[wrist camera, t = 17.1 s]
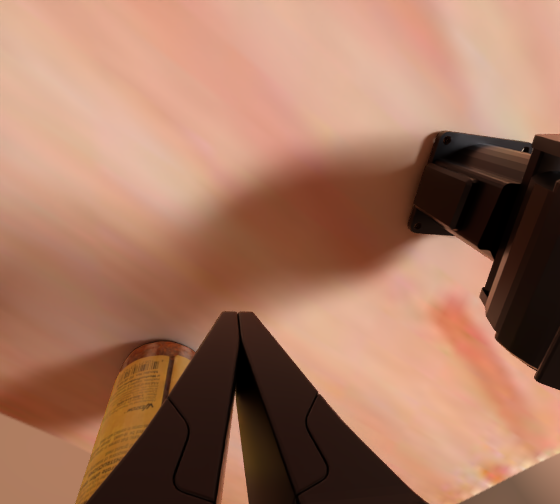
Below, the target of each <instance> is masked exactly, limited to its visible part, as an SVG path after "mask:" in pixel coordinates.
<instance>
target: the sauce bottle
mask: <svg viewBox="0 0 560 504" xmlns="http://www.w3.org/2000/svg"><path fill="white" fill-rule="evenodd" d="M195 353H196V352H194V351H193V350H191V349H190V348H188V347H186V346H183V345H181V344H178V343H176V342H171V341H159V342H154V343H148V344H145V345H142V346H141V347H138V348H137V349H135V350H134V351H133V352H131V354H130V355H129V356H128V357H127V359H126V360H125V362H124V363H123V365H122V367H121V370H120V373H119V374H118V376H117V378H116V380H115V383H114V386H113V389H112V392H111V395H110V399H109V402H108V405H107V408H106V411H105V414H104V417H103V420H102V423H101V426H100V429H99V432H98V435H97V438H96V441H95V444H94V448H93V451H92V454H91V457H90V460H89V463H88V466H87V470H86V472H85V475H84V478H83V481H82V484H81V488H80V491H79V494H78V497H77V500H76V503H75V504H85V503H86V502H87V500H88V499H89V498H90V497H91V496H92V494H93V493H94V492H95V491H96V490H97V488H98V487H99V486H100V485H101V484H102V482H103V481H104V480H105V479H106V478H107V476H108V475H109V474H110V473H111V471H112V470H113V469H114V468H115V467H116V465H117V464H118V463H119V462H120V461H121V459H122V458H123V457H124V456H125V455H126V453H127V452H128V451H129V449H130V448H131V447H132V446H133V444H134V443H135V442H136V441H137V439H138V438H139V437H140V435H141V434H142V433H143V432H144V430H145V429H146V427H147V426H148V424H149V423H150V421H151V420H152V419H153V417H154V416H155V414H156V413H157V411H158V410H159V408H160V407H161V405H162V404H163V402H164V401H165V400H166V399H167V396H168V395H169V393H170V392H171V390H172V388H173V387H174V385H175V384H176V382H177V381H178V379H179V378H180V376H181V375H182V373H183V371H184V370H185V368H186V367H187V365H188V364H189V362H190V361H191V359H192V358H193V356H194V355H195Z"/></svg>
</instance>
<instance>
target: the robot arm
mask: <svg viewBox="0 0 560 504" xmlns="http://www.w3.org/2000/svg"><path fill="white" fill-rule="evenodd" d="M446 136H447V141H446V142H445V143H443V139H444V138H445V137H446ZM523 148H524V150H523V152H521V151H522V149H523ZM532 150H533V151H532ZM531 153H532V154H531ZM416 223H418V225H417V226H416V227H414V225H415V224H416ZM408 228H409V229H410V230H411V231H412V232H414V233H422V234H436V235H450V236H456V237H457V238H459V239H460V240H462V241H463V242H465V243H466V244H468V245H469V246H471V247H472V248H474V249H475V250H477V251H478V252H480V253H481V254H483V255H484V256H486V257H487V258H489V259H490V260H492V261H493V265H492V268H491V271H490V274H489V276H488V279H487V282H486V285H485V287H483V288H482V290H481V293H480V296H479V297H480V299H481V301H482V302H483V304H484V306H485V310H486V317H487V319H488V320H489V322H490V324H491V325H492V327H493V328H494V330H495V331H496V334H495V339H496V340H497V341H498V342H499V344H501V345H502V346H503V347H504V348H505V349H506V350H507V351H509V352H510V353H511V354H512V355H513V356H515V357H516V358H518V359H519V360H520V361H522V362H523V363H525V364H526V365H528V366H529V367H530V368H532V369H534V370H536V371H537V372H536V374H535V376H534V379H535V380H536V381H538V382H539V383H541V384H544V385H547V386H550V387H552V388H555V389H558V390H560V134H537V135H535V137H534V140H533V143H532V144H531V143H529V142H523V141H516V140H509V139H502V138H495V137H488V136H480V135H473V134H466V133H459V132H452V131H442V132H440V133H439V134H438V135H437V137H436V139H435V143H434V146H433V149H432V152H431V155H430V158H429V161H428V164H427V166H426V167H425V169H424V172H423V175H422V178H421V182H420V185H419V188H418V191H417V194H416V197H415V200H414V207H413V210H412V213H411V216H410V219H409V222H408ZM235 395H236V405H237V413H238V421H239V429H240V437H241V445H242V452H243V460H244V468H245V476H246V484H247V492H248V500H249V504H429V503H428V502H426V501H425V500H423V499H422V498H421V497H420V496H418V495H417V494H416V493H415V492H414V491H413V490H412V489H410V488H409V487H408V486H407V485H406V484H405V483H404V482H403V481H402V480H401V479H400V478H399V477H398V476H397V475H396V474H395V473H394V472H393V471H392V470H391V469H390V468H389V467H388V466H387V465H386V464H385V463H384V462H383V461H382V460H381V459H380V458H379V457H378V456H377V455H376V454H375V453H374V452H373V451H372V450H371V449H370V448H369V447H368V446H367V445H366V444H365V443H364V442H363V441H362V440H361V439H360V438H359V437H358V436H357V435H356V434H355V433H354V432H353V431H352V430H351V429H350V428H349V427H348V426H347V425H346V424H345V423H344V422H343V420H342V419H341V418H340V417H339V416H338V415H337V413H336V412H335V411H334V410H333V409H332V408H331V407H330V405H329V404H328V403H327V402H326V401H325V399H324V398H323V397H322V396H321V395H320V394H318V391H317V390H316V389H315V387H314V386H313V385H312V384H311V382H310V381H309V380H308V379H307V378H306V376H305V375H304V374H303V373H302V371H301V370H300V369H299V368H298V367H297V365H296V364H295V363H294V362H293V360H292V359H291V358H290V357H289V356H288V354H287V353H286V352H285V351H284V349H283V348H282V347H281V346H280V345H279V343H278V342H277V341H276V340H275V338H274V337H273V336H272V335H271V334H270V332H269V331H268V330H267V329H266V327H265V326H264V325H263V324H262V323H261V321H260V320H259V319H258V318H257V316H256V315H255V314H254V313H253V312H239V313H238V314H237V312H235V311H223V312H222V313H221V314H220V316H219V317H218V319H217V321H216V322H215V324H214V325H213V327H212V328H211V330H210V331H209V333H208V334H207V336H206V338H205V339H204V341H203V342H202V344H201V345H200V347H199V348H198V350H197V351H196V353H195V355H194V356H193V358H192V359H191V361H190V362H189V364H188V365H187V367H186V368H185V370H184V371H183V373H182V375H181V376H180V378H179V379H178V381H177V382H176V384H175V385H174V387H173V388H172V390H171V392H170V393H169V395H168V396H167V399H166V400H165V401H164V402H163V404H162V405H161V407H160V408H159V410H158V411H157V413H156V414H155V416H154V417H153V419H152V420H151V421H150V423H149V424H148V426H147V427H146V429H145V430H144V432H143V433H142V434H141V435H140V437H139V438H138V439H137V441H136V442H135V443H134V444H133V446H132V447H131V448H130V449H129V451H128V452H127V453H126V455H125V456H124V457H123V458H122V459H121V461H120V462H119V463H118V464H117V465H116V467H115V468H114V469H113V470H112V471H111V473H110V474H109V475H108V476H107V478H106V479H105V480H104V481H103V482H102V484H101V485H100V486H99V487H98V488H97V490H96V491H95V492H94V493H93V494H92V496H91V497H90V498H89V499H88V500H87V502H86V503H85V504H221V500H222V492H223V484H224V476H225V468H226V461H227V453H228V445H229V437H230V429H231V421H232V413H233V405H234V396H235Z"/></svg>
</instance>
